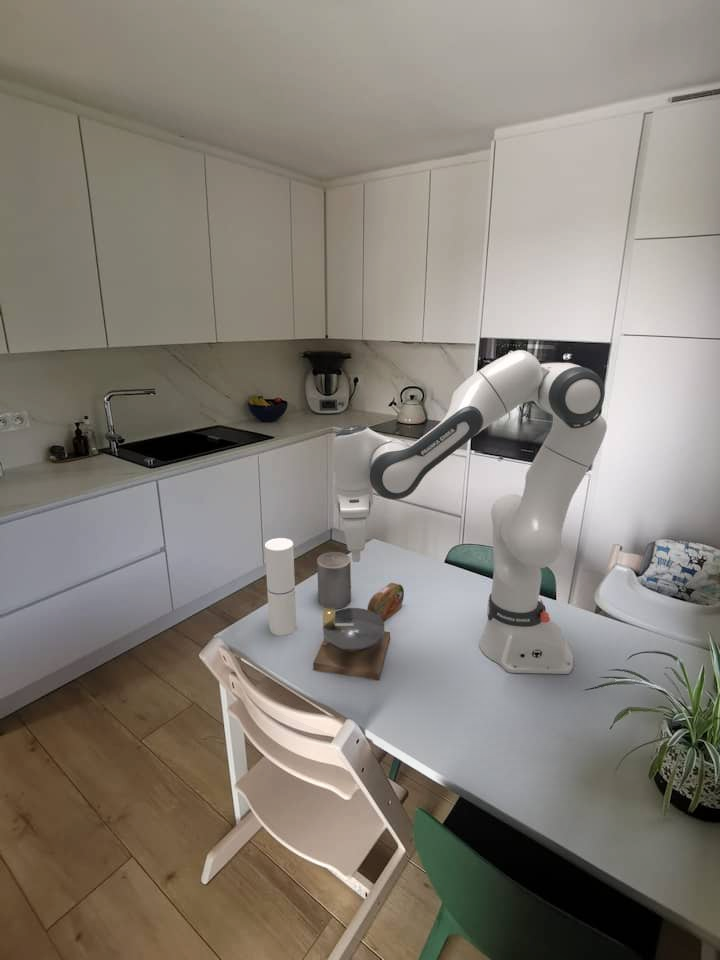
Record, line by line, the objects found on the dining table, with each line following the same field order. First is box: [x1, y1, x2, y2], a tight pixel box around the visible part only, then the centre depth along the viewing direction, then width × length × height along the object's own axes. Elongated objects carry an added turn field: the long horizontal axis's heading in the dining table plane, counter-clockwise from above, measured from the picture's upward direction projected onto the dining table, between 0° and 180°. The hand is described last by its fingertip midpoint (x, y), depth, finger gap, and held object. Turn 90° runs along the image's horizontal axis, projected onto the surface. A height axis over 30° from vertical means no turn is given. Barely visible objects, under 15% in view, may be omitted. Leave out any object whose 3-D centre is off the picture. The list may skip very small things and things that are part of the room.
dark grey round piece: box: [322, 607, 385, 652], centre depth 122 cm, size 15×15×6 cm
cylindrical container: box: [264, 537, 297, 637], centre depth 130 cm, size 7×7×25 cm
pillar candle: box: [316, 551, 352, 610], centre depth 145 cm, size 10×10×15 cm
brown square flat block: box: [312, 630, 391, 681], centre depth 124 cm, size 16×16×6 cm
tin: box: [366, 582, 405, 623], centre depth 139 cm, size 15×3×8 cm, turn 143°
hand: (355, 551), depth 118 cm, fingers open, 8 cm apart
